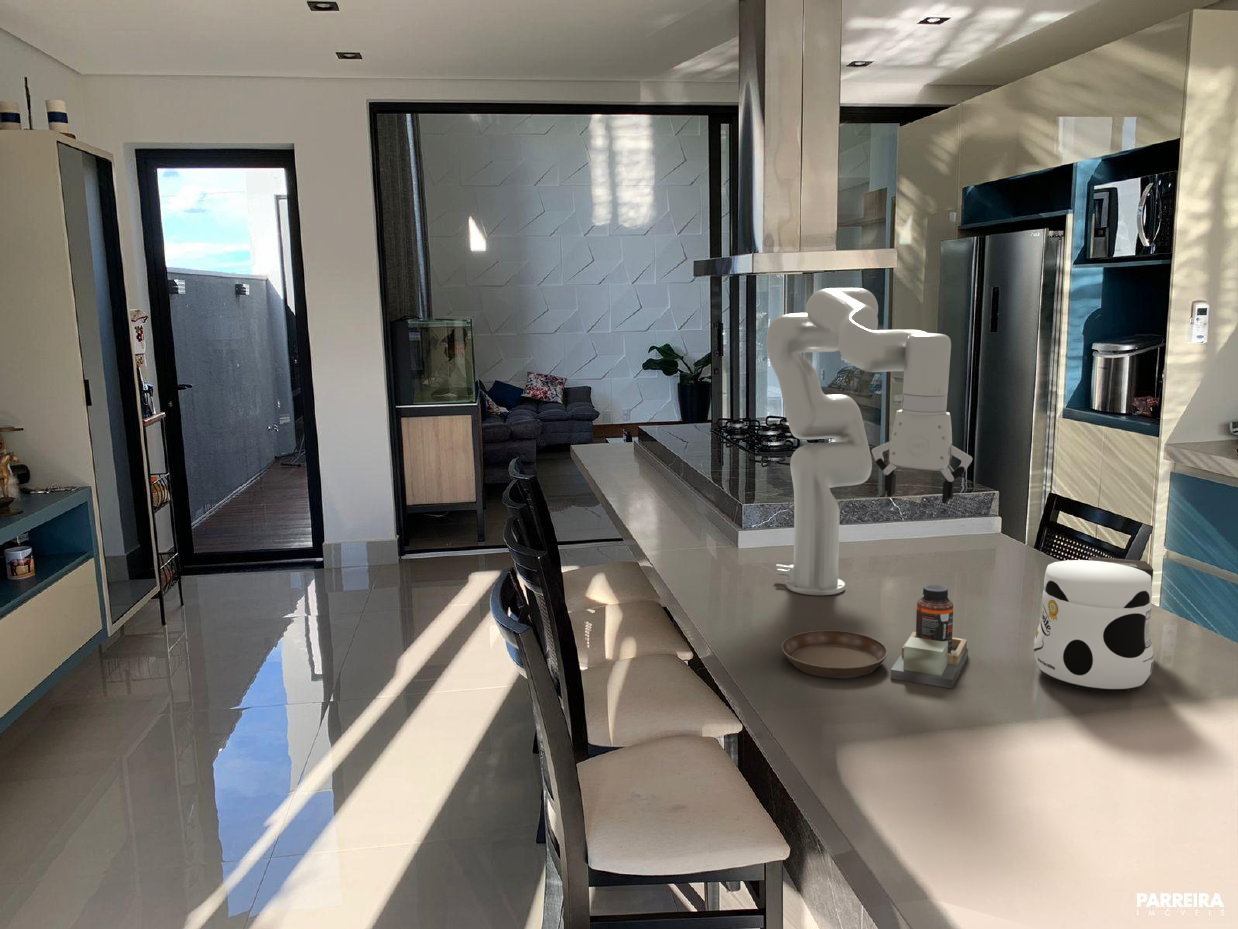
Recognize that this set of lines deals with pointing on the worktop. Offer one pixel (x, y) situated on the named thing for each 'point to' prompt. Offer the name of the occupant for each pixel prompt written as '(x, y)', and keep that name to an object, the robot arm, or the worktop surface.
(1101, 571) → the milk container
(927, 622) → the supplement bottle
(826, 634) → the plant saucer
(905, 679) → the base
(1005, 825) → the worktop surface
